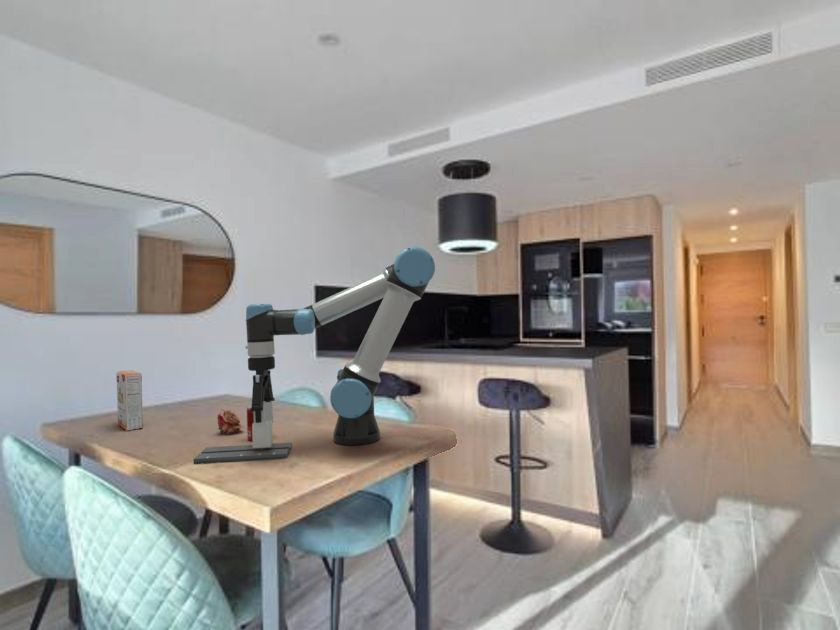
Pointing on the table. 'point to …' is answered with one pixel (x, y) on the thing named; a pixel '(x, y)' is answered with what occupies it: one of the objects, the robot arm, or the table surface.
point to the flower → (228, 421)
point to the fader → (263, 436)
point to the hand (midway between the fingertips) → (264, 428)
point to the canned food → (249, 422)
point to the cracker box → (129, 400)
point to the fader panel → (242, 453)
